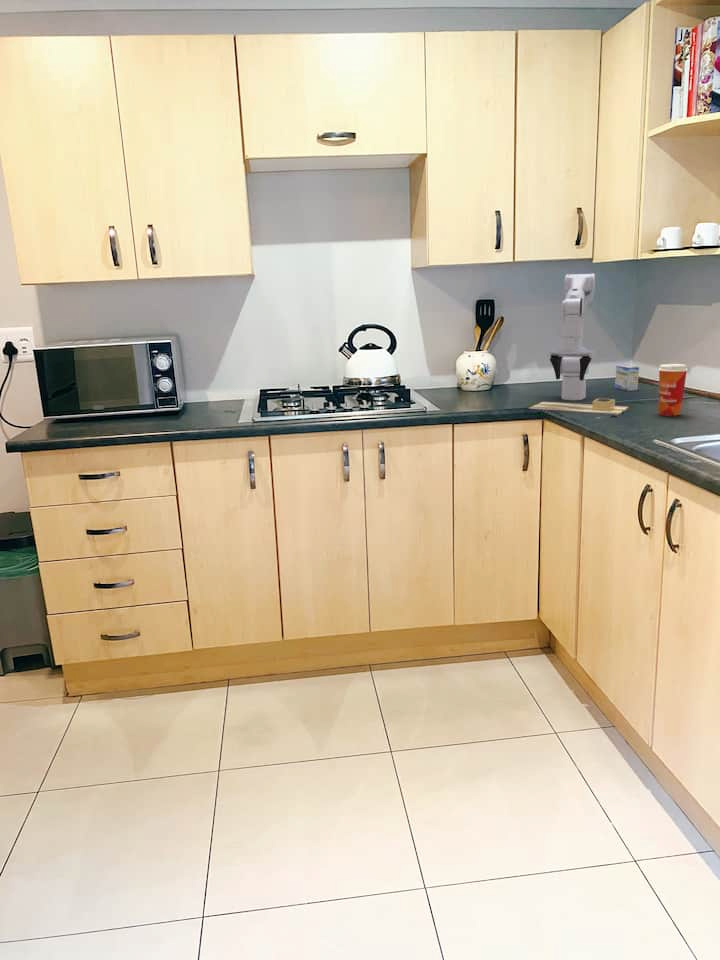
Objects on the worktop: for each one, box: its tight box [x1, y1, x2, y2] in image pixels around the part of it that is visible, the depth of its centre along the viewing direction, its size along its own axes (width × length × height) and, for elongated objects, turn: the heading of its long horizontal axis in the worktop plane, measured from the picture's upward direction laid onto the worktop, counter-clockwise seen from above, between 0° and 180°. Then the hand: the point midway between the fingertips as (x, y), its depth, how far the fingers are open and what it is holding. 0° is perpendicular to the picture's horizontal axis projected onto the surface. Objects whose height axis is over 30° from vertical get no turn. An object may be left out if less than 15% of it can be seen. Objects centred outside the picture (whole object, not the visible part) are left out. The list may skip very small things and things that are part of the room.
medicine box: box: [614, 364, 640, 392], centre depth 269 cm, size 8×4×9 cm, turn 17°
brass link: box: [592, 398, 616, 411], centre depth 226 cm, size 6×6×3 cm
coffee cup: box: [658, 363, 689, 417], centre depth 217 cm, size 8×8×15 cm
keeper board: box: [529, 397, 629, 417], centre depth 230 cm, size 14×28×4 cm, turn 57°
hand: (569, 379), depth 233 cm, fingers open, 7 cm apart
